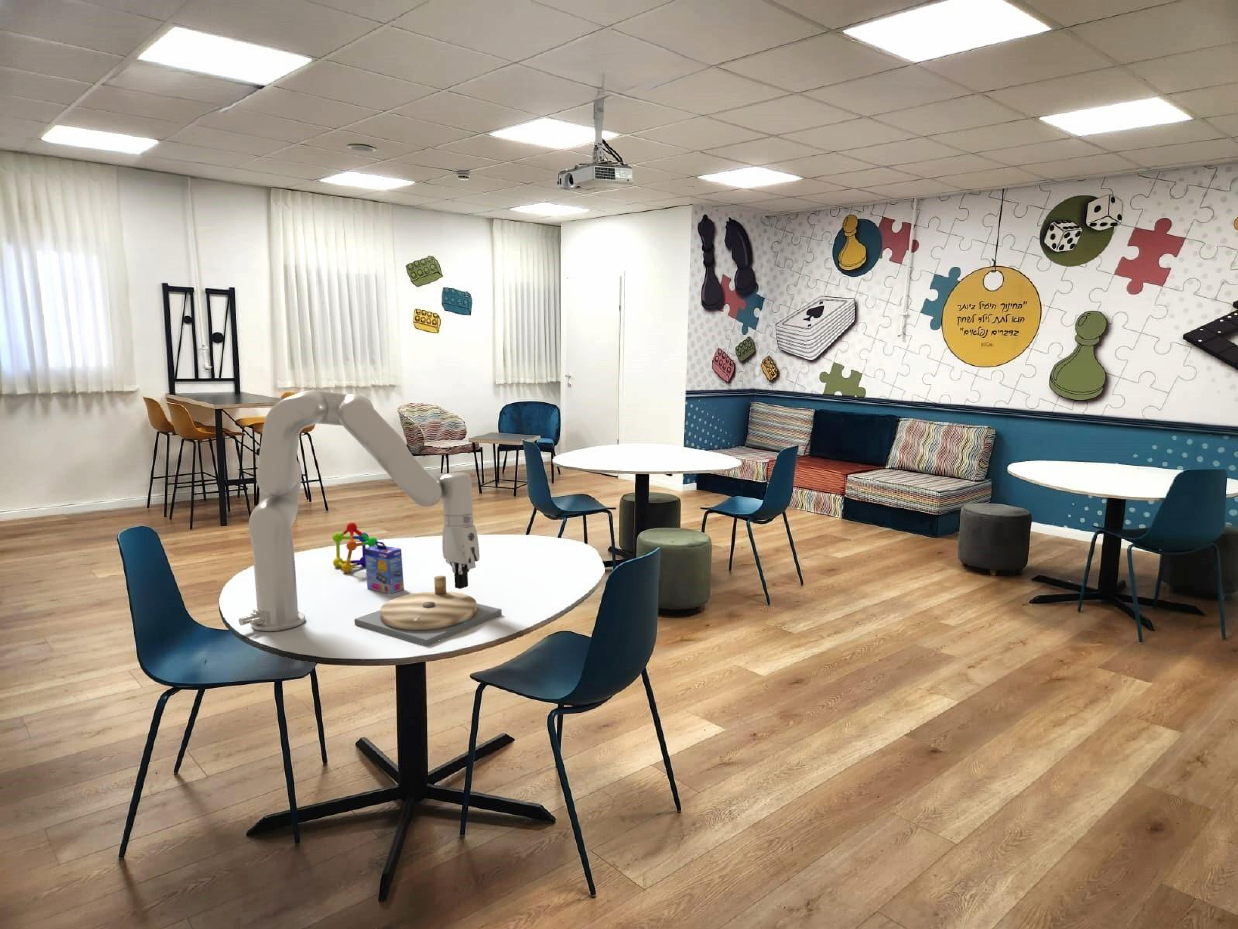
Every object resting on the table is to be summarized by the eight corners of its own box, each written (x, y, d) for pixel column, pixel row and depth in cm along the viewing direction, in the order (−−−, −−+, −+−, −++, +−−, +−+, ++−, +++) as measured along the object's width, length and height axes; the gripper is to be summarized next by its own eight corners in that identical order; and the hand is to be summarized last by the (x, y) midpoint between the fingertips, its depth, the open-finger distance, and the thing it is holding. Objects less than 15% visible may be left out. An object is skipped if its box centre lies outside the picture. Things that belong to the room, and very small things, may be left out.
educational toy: (385, 570, 257) (385, 524, 254) (348, 579, 248) (347, 532, 244) (358, 557, 267) (358, 513, 264) (322, 565, 258) (321, 519, 254)
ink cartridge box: (365, 589, 234) (363, 540, 232) (380, 584, 239) (377, 536, 237) (390, 594, 229) (387, 544, 227) (404, 589, 234) (402, 540, 232)
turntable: (463, 631, 196) (462, 605, 195) (365, 628, 197) (364, 603, 196) (486, 599, 219) (485, 576, 218) (399, 597, 221) (398, 575, 220)
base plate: (426, 646, 191) (426, 639, 191) (354, 624, 205) (354, 618, 205) (501, 614, 212) (501, 608, 212) (431, 597, 227) (431, 591, 226)
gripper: (488, 520, 211) (491, 589, 214) (451, 513, 221) (454, 579, 223) (466, 526, 205) (469, 596, 208) (428, 518, 215) (432, 585, 218)
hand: (461, 587), depth 216 cm, fingers closed
